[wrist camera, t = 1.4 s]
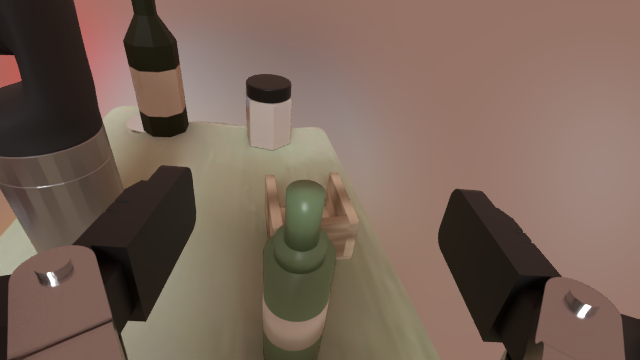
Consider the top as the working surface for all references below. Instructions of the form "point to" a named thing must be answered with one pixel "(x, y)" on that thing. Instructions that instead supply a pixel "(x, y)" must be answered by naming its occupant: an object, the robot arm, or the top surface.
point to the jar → (268, 111)
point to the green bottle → (297, 277)
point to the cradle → (335, 218)
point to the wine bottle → (155, 72)
